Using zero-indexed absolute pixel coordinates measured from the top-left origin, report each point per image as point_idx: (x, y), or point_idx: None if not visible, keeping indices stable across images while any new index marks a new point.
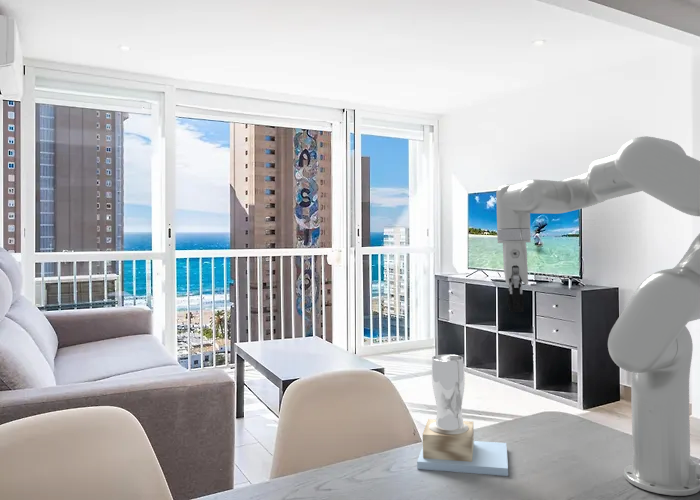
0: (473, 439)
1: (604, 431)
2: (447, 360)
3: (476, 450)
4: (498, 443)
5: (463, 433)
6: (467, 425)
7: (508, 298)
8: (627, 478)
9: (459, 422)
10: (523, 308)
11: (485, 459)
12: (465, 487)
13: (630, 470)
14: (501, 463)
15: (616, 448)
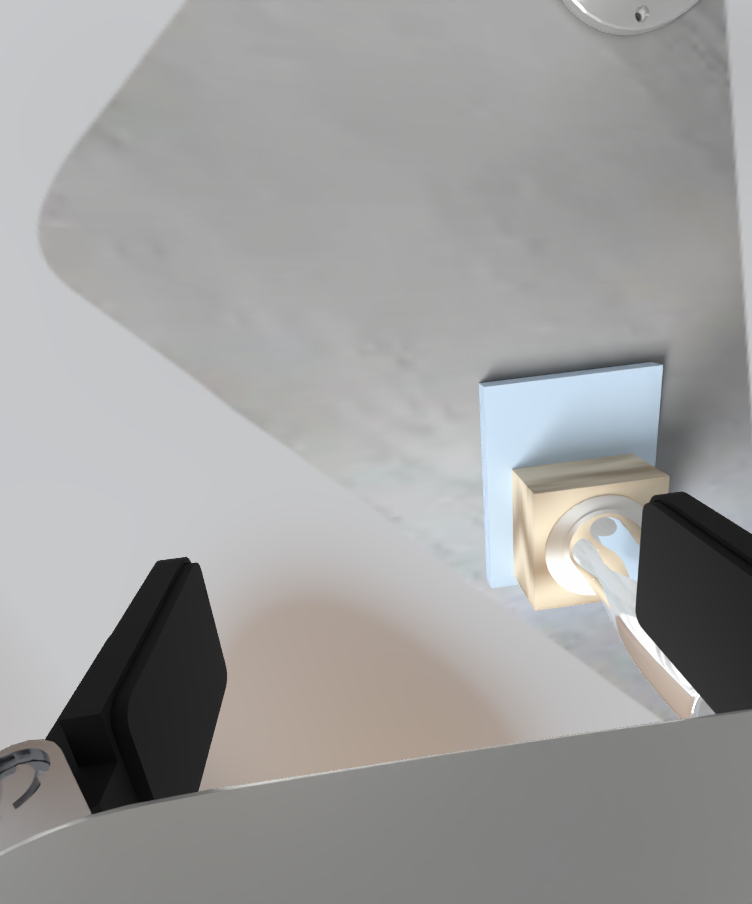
0: (532, 473)
1: (208, 54)
2: (675, 696)
3: (556, 455)
4: (492, 407)
5: (641, 501)
6: (571, 503)
7: (207, 755)
8: (657, 27)
9: (638, 525)
10: (697, 504)
11: (612, 425)
12: (720, 445)
13: (622, 6)
14: (634, 383)
15: (381, 29)
